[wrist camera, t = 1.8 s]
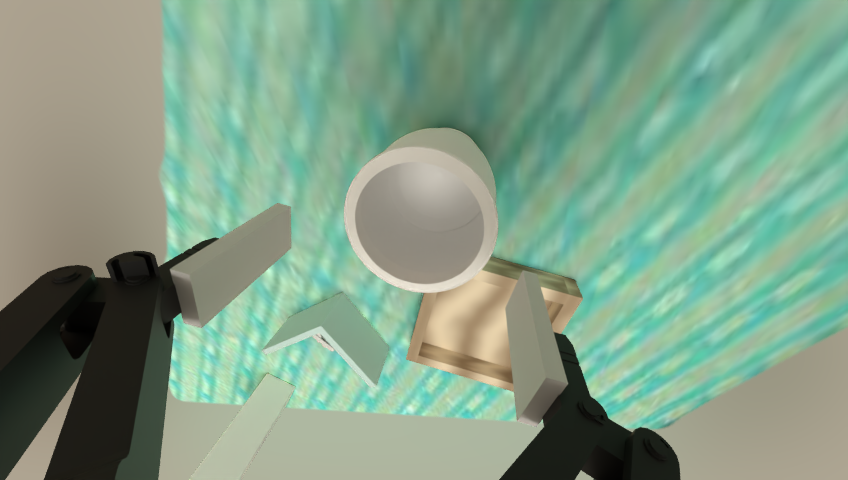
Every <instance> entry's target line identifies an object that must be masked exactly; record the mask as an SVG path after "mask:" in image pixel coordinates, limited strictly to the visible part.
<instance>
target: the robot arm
mask: <svg viewBox="0 0 848 480" xmlns="http://www.w3.org/2000/svg"><path fill="white" fill-rule="evenodd" d="M290 249H291V207H290V206H287V205H283V204H279V203H277V204H275V205H274V206H272V207H270V208H269V209H267V210H265V211H264V212H262V213H261V214H259V215H257V216H256V217H254V218H252V219H251V220H249V221H247V222H246V223H244V224H243V225H241V226H239V227H238V228H236V229H234V230H233V231H231V232H229V233H228V234H226V235H225V236H223V237H221V238H220V239H219V238H212V239H208V240H205V241H202V242H200V243H199V244H197V245H195V246H193V247H192V249H188V250H187V251H185V252H184V253H183V254H182V253H181V254H180V255H178V256H176V257H175V258H173V259H171V260H169V261H168V262H166V263H164V264H163V265H161V266H159V267H158V265H157V262H156V258H155V255H154V254H152V253H150V252H145V251H133V252H127V253H123V254H120V255H117V256H115V257H113V258H111V259H110V260H109V261H108V262H107V263H106V266H107V269H108V271H109V274H110V276H111V278H98V277H95V275H94V273H93V270H92V269H91V268H89V267H87V266H80V265H75V266H66V267H61V268H58V269H55V270H52V271H50V272H47V273H46V274H44V275H42V276H41V277H40V278H38V279H37V280H36V281H35V282H34V283H33V284H31V285H30V286H29V287H28V288H27V289H26V290H25V291H23V293H21V294H20V295H19V296H18V297H16V298H15V299H14V300H13V301H12V302H11V303H9V304H8V305H7V306H6V307H5V308H4V309H3V310H1V311H0V480H5V479H6V478H7V476H8V475H9V473H10V472H11V470H12V469H13V468H14V466H15V465H16V463H17V462H18V461H19V459H20V458H21V456H22V455H23V454H24V452H25V451H26V449H27V448H28V447H29V445H30V444H31V442H32V441H33V440H34V438H35V437H36V435H37V434H38V432H39V431H40V430H41V428H42V427H43V425H44V424H45V423H46V421H47V420H48V418H49V417H50V416H51V414H52V413H53V411H54V410H55V408H56V407H57V406H58V404H59V403H60V401H61V400H62V399H63V397H64V396H65V394H66V393H67V391H68V390H69V389H70V387H71V386H72V384H73V383H74V382H75V380H76V379H77V377H78V376H79V374H80V373H81V375H80V378H79V381H78V384H77V386H76V389H75V392H74V395H73V398H72V401H71V404H70V407H69V409H68V412H67V415H66V418H65V421H64V424H63V427H62V429H61V433H60V435H59V438H58V441H57V444H56V447H55V450H54V452H53V455H52V458H51V461H50V464H49V467H48V470H47V472H46V475H45V478H44V480H158V476H159V466H160V457H161V446H162V438H163V428H164V419H165V410H166V399H167V390H168V381H169V372H170V362H171V353H172V343H173V334H174V321H173V318H175V317H176V316H177V315H178V314H180V313H181V314H182V318H183V322H184V323H186V324H189V325H192V326H196V327H199V328H202V327H203V326H204V325H206V324H207V323H208V322H209V321H210V320H211V319H212V318H213V317H214V316H216V315H217V314H218V313H219V312H220V311H221V310H222V309H223V308H225V307H226V306H227V305H228V304H229V303H230V302H231V301H232V300H234V299H235V298H236V297H237V296H238V295H239V294H240V293H241V292H242V291H244V290H245V289H246V288H247V287H248V286H249V285H250V284H251V283H253V282H254V281H255V280H256V279H257V278H258V277H259V276H260V275H262V274H263V273H264V272H265V271H266V270H267V269H268V268H269V267H271V266H272V265H273V264H274V263H275V262H276V261H277V260H278V259H279V258H281V257H282V256H283V255H284V254H285V253H286V252H287V251H288V250H290ZM505 311H506V320H507V330H508V339H509V349H510V359H511V368H512V378H513V387H514V397H515V406H516V416H517V422H521V423H524V424H528V425H531V426H534V427H537V426H538V424H539V423H540V422H541V420H542V419H543V423H544V428H543V429H542V430H541V431H540V432H539V434H538V435H537V436H536V437H535V438H534V440H533V441H532V442H531V443H530V444H529V445H528V446H527V448H526V449H525V450H524V451H523V452H522V454H521V455H520V456H519V457H518V458H517V459H516V461H515V462H514V463H513V464H512V465H511V466H510V468H509V469H508V470H507V471H506V472H505V474H504V475H503V476H502V477H501V478H500V479H499V480H575V478H576V477H577V475H578V474H579V472H580V470H582V471H583V472H585V473H586V474H588V475H590V476H591V477H592V478H594V480H680V468H679V462H678V458H677V455H676V454H675V452H674V450H673V449H672V447H671V446H670V445H669V444H668V443H667V442H666V441H665V440H664V439H663V438H662V437H661V436H659V435H658V434H657V433H655V432H654V431H652V430H650V429H648V428H642V427H640V428H637V429H635V430H634V431H633V432H630V431H629V430H627V429H625V428H623V427H622V426H620V425H618V424H616V423H615V422H613V421H611V420H610V419H609V418H608V416H607V413H606V412H605V410H604V409H603V407H602V406H601V405H600V404H599V403H598V402H597V401H596V400H595V399H593V398H592V397H591V396H590V394H589V391H588V388H587V385H586V382H585V379H584V376H583V373H582V370H581V367H580V366H579V362H578V359H577V357H576V353H575V350H574V347H573V345H572V344H571V342H570V341H569V339H568V338H567V337H566V335H563V334H559V333H556V332H553V329H552V325H551V322H550V318H549V315H548V311H547V308H546V304H545V301H544V297H543V294H542V290H541V287H540V283H539V280H538V276H537V274H535V273H532V272H528V271H524V270H523V271H522V273H521V275H520V277H519V279H518V282H517V284H516V286H515V288H514V290H513V292H512V294H511V297H510V299H509V301H508V303H507V305H506V307H505Z"/></svg>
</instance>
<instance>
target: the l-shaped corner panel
mask: <svg viewBox="0 0 848 480" xmlns="http://www.w3.org/2000/svg"><path fill="white" fill-rule="evenodd" d="M313 335H314V336H313ZM311 336H313V338H315V339H316V340H317V342H318V343H321V344H322V346H323V347H326V348H328V349H329V350H330V351H334V350H336V351H337V352H338V353H339V354H340V356H341V357H342V358H343V359H344V360H345V361H346V362H347V363H348V364H349V365H350V366H351V367H352V368H353V370H354V371H355V372H356V373H357V374H358V375H359V376H360V377H361V378H362V379H363V380H364V381H365V382H366V384H367V385H368V386H369V387H370V388H371V387H375V386H376V385H377V383H378V380H379V377H380V374H381V371H382V368H383V366H384V363H385V360H386V357H387V354H388V351H389V349H390V347H389V346H388V344H387V343H386V342H385V341H384V340H383V338H382V337H381V336H380V335H379V334H378V333H377V331H376V330H375V329H374V328H373V327H372V325H371V324H370V323H369V322H368V321H367V319H366V318H365V317H364V316H363V315H362V314H361V312H360V311H359V310H358V309H357V308H356V306H355V305H354V304H353V303H352V302H351V301H350V299H349V298H348V297H347V296H346V295H345V293H344V292H342V293H340V294H338V295H336V296H333V297H331V298H329V299H327V300H325V301H323V302H320V303H318V304H316V305H314V306H312V307H310V308H308V309H305V310H303V311H301V312H299V313H297V314H295V315H292V316H290V317H289V318H288V319H287V320H286V322H285V323H284V324H283V325H282V326H281V328H280V329H279V330H278V331H277V333H276V334H275V335H274V336H273V337H272V339H271V340H270V341H269V342H268V344H267V345H266V346H265V347H264V348H263V350H262V352H263V353H265V354H266V355H267V354H269V353H272V352H274V351H277V350H279V349H281V348H284V347H286V346H289V345H291V344H294V343H296V342H299V341H301V340H304V339H306V338H308V337H311Z"/></svg>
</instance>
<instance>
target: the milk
mask: <svg viewBox="0 0 848 480" xmlns="http://www.w3.org/2000/svg"><path fill="white" fill-rule="evenodd" d="M294 389H295V386H293V385H291V384H289V383H287V382H285V381H283V380H281V379H279V378H277V377H275V376H273V375H271V374H269V373H267V374H266V376H265V377H264V378H263V380H262V381H261V382H260V384H259V385H258V386H257V388H256V389H255V390H254V392H253V393H252V395H251V396H250V397H249V399H248V400H247V401H246V403H245V404H244V405H243V407H242V408H241V410H240V411H239V412H238V414H237V415H236V416H235V418H234V419H233V420H232V422H231V423H230V425H229V426H228V427H227V429H226V430H225V431H224V433H223V434H222V435H221V437H220V438H219V439H218V441H217V442H216V444H215V445H214V446H213V448H212V449H211V450H210V452H209V453H208V455H207V456H206V457H205V459H204V460H203V461H202V462H201V464H200V465H199V467H198V468H197V469H196V471H195V472H194V473H193V475H192V476H191V478H190V479H189V480H241V479H242V477H243V476H244V474H245V472H246V471H247V469H248V467H249V466H250V464H251V462H252V461H253V459H254V458H255V456H256V454H257V453H258V451H259V449H260V448H261V446H262V444H263V443H264V441H265V439H266V438H267V436H268V434H269V433H270V431H271V429H272V428H273V426H274V425H275V423H276V421H277V419H278V418H279V416H280V415H281V413H282V411H283V410H284V408H285V406H286V405H287V403H288V401H289V399H290V397H291V395H292V393H293V391H294Z"/></svg>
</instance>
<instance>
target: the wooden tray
mask: <svg viewBox="0 0 848 480" xmlns="http://www.w3.org/2000/svg"><path fill="white" fill-rule="evenodd" d="M523 270H524V271H528V272H532V273H535V274H537V276H538V280H539V283H540V287H541V290H542V294H543V297H544V301H545V304H546V308H547V311H548V315H549V318H550V322H551V325H552V329H553V332H556V333H559V334H561V333H562V331H563V330H564V328H565V326H566V325H567V323H568V322H569V320H570V318H571V317H572V315H573V314H574V312H575V311H576V309H577V307H578V306H579V304H580V303H581V301H582V300H583V297H582V295H581V293H580V290H579V288H578V286H577V284H576V281H575V280H573V279H570V278H566V277H563V276H559V275H555V274H552V273H548V272H544V271H541V270H537V269H534V268H530V267H526V266H523V265H519V264H516V263H512V262H508V261H505V260H501V259H498V258H494V257H490V259H489V260H488V262H487V263H486V265H485V266H484V267H483V269H482V270H481V271H480V272H479V273H478V274H477V275H476V276H475V277H473V278H472V279H471V280H469V281H468V282H466V283H464V284H463V285H461V286H458V287H456V288H453V289H450V290H447V291H442V292H435V293H424V296H423V300H422V303H421V307H420V310H419V314H418V318H417V321H416V325H415V329H414V332H413V336H412V339H411V343H410V347H409V350H408V354H407V357H406V359H407V360H410V361H413V362H417V363H420V364H423V365H427V366H430V367H433V368H437V369H440V370H443V371H447V372H450V373H453V374H457V375H460V376H463V377H467V378H470V379H473V380H477V381H480V382H483V383H487V384H490V385H493V386H497V387H500V388H503V389H507V390H510V391H513V392H514V387H513V378H512V368H511V359H510V349H509V339H508V330H507V320H506V311H505V307H506V305H507V303H508V301H509V299H510V297H511V294H512V292H513V290H514V288H515V286H516V284H517V282H518V279H519V277H520V275H521V273H522V271H523Z"/></svg>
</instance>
